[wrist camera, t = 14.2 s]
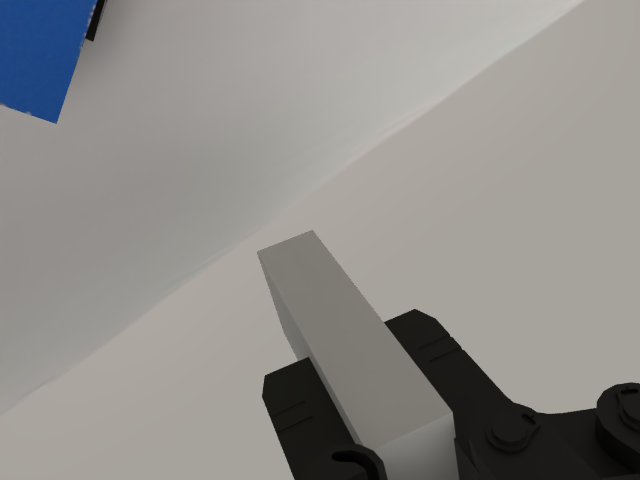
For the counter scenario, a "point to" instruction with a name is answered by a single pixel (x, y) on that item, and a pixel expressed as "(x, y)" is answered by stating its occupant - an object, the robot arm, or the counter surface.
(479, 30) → the counter surface
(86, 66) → the counter surface
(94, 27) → the toy train
